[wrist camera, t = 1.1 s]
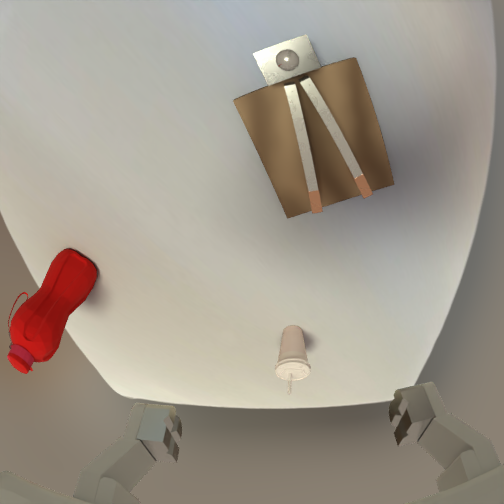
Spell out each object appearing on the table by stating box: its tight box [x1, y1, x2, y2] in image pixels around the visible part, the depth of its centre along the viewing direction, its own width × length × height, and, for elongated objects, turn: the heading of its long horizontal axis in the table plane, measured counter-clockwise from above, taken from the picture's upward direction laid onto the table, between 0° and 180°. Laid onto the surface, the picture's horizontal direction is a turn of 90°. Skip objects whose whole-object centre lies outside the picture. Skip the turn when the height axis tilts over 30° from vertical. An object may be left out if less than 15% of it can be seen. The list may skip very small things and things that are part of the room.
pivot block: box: [253, 35, 321, 86], centre depth 30 cm, size 6×4×7 cm, turn 114°
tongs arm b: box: [284, 81, 323, 214], centre depth 36 cm, size 16×1×4 cm, turn 15°
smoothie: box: [275, 326, 311, 394], centre depth 55 cm, size 6×6×14 cm
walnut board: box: [233, 57, 394, 218], centre depth 38 cm, size 16×18×2 cm
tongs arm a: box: [298, 75, 373, 198], centre depth 35 cm, size 16×1×4 cm, turn 33°
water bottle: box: [7, 249, 97, 374], centre depth 46 cm, size 9×11×25 cm
